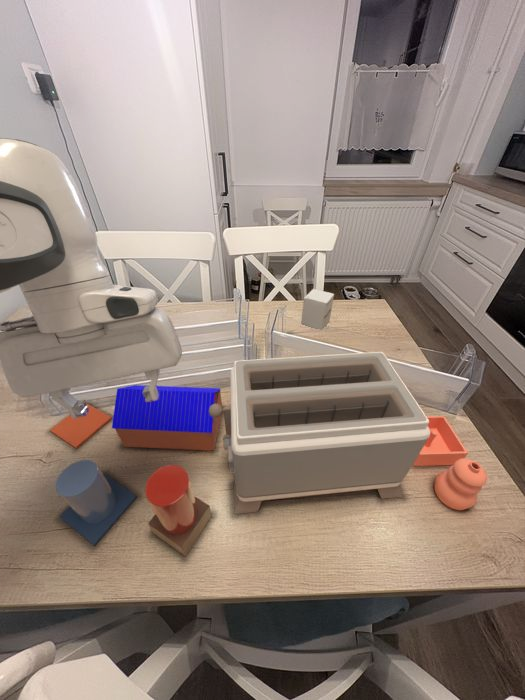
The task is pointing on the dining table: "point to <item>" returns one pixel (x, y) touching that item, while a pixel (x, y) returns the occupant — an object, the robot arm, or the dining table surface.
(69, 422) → the red mat
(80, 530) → the blue mat
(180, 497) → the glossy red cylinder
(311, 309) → the white packaging box
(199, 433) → the house
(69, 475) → the blue canister
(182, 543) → the riser
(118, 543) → the dining table surface
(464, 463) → the pottery
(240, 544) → the dining table surface
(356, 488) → the toaster
